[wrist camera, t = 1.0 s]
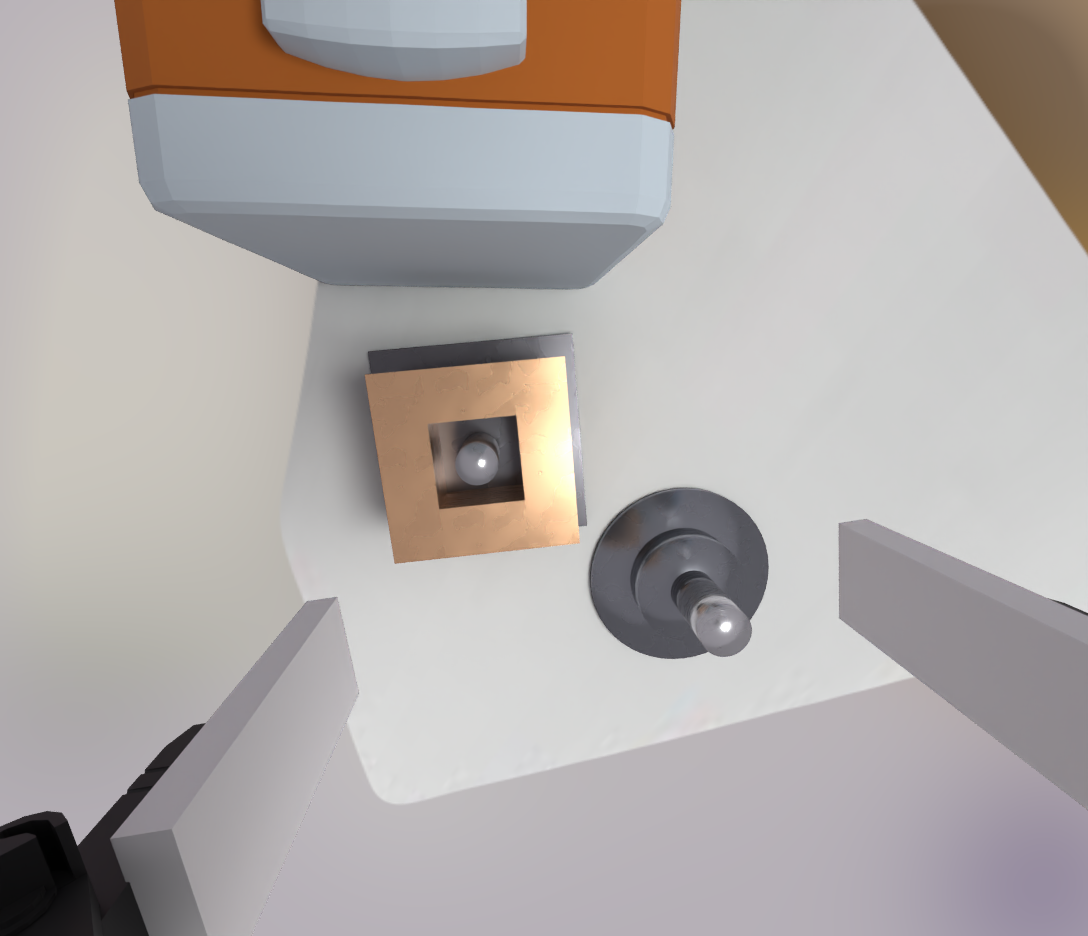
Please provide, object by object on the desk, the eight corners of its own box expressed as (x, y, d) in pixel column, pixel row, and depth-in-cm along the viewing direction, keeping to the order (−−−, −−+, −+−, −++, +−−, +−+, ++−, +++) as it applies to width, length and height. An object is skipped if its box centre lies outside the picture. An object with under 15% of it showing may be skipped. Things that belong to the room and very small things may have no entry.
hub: (584, 498, 39) (607, 538, 30) (765, 478, 40) (839, 512, 31) (596, 665, 42) (621, 746, 33) (765, 644, 42) (833, 718, 34)
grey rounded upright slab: (597, 151, 34) (726, -147, 14) (593, 291, 36) (704, 202, 16) (308, 141, 33) (0, -205, 13) (319, 286, 35) (63, 182, 15)
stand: (369, 351, 36) (328, 348, 27) (571, 333, 36) (591, 325, 28) (399, 543, 39) (371, 593, 30) (585, 523, 39) (607, 566, 31)
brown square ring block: (381, 373, 32) (364, 374, 28) (557, 356, 33) (564, 356, 29) (407, 540, 34) (394, 563, 31) (571, 522, 35) (579, 543, 31)
